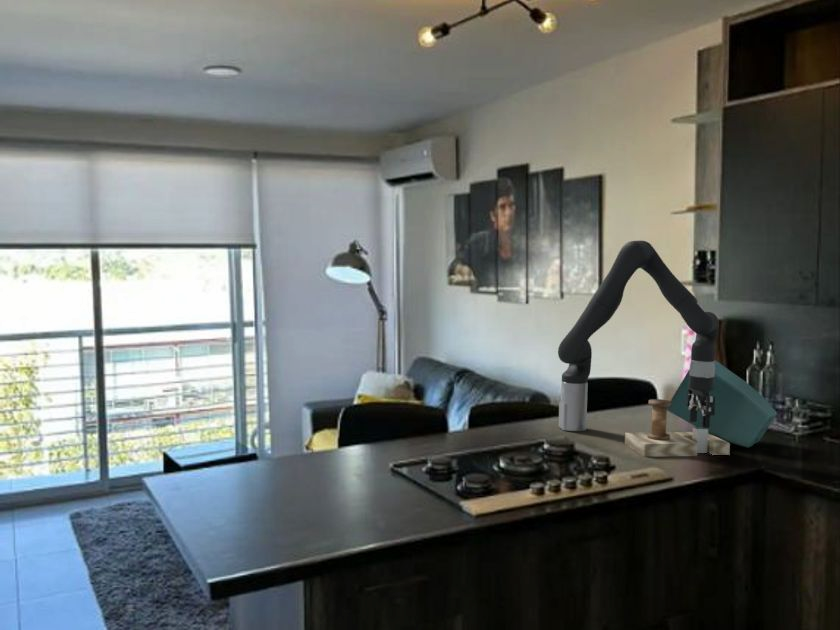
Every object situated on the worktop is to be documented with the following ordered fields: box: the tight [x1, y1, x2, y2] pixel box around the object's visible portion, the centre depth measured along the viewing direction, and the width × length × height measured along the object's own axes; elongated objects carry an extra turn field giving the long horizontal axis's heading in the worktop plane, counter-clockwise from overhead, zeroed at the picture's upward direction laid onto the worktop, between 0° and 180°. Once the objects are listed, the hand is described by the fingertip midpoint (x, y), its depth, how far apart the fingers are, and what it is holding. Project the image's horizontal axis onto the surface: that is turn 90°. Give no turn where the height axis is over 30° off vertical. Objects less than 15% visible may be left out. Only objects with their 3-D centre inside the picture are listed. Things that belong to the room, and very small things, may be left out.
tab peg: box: [691, 426, 708, 454], centre depth 241 cm, size 4×4×8 cm
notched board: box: [624, 431, 731, 458], centre depth 244 cm, size 28×16×4 cm, turn 96°
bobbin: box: [647, 398, 671, 440], centre depth 243 cm, size 7×7×12 cm
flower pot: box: [667, 359, 778, 448], centre depth 255 cm, size 20×20×28 cm
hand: (699, 424), depth 241 cm, fingers open, 8 cm apart
